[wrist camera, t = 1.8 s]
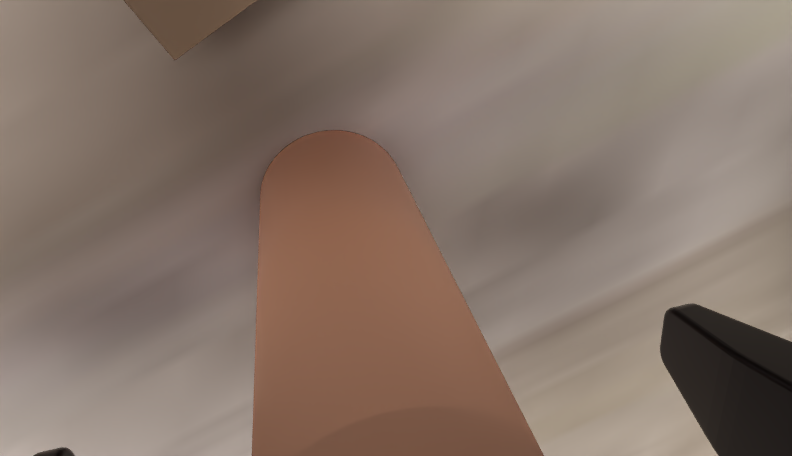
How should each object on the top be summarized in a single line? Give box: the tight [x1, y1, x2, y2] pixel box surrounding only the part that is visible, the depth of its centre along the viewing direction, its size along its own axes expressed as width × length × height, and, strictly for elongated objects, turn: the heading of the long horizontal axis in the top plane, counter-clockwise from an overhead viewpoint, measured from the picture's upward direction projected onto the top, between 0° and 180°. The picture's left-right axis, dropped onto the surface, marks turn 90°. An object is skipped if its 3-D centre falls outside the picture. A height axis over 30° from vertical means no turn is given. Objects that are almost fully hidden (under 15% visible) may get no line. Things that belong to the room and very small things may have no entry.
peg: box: [252, 130, 544, 456], centre depth 11 cm, size 4×4×9 cm
